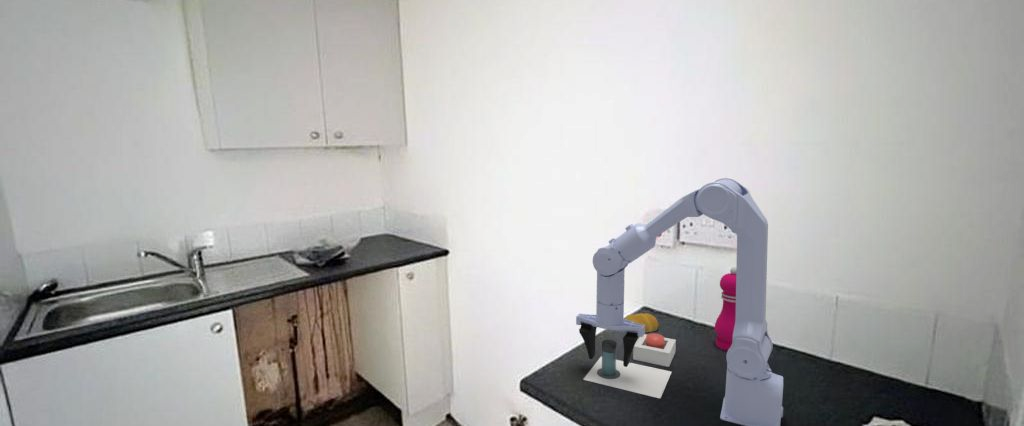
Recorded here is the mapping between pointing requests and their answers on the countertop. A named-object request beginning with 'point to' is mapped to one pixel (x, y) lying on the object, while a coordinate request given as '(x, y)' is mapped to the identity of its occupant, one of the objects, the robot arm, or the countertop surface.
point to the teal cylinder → (609, 357)
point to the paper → (632, 378)
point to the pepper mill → (727, 311)
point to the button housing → (654, 352)
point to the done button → (655, 340)
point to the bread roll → (644, 321)
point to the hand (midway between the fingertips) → (608, 360)
